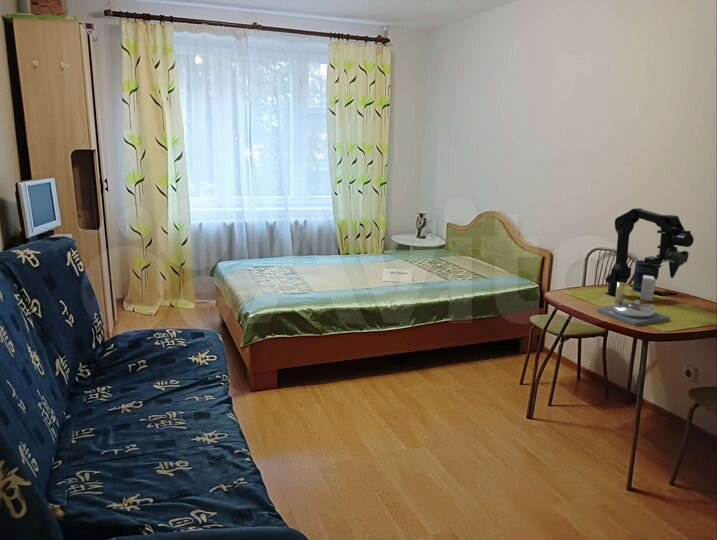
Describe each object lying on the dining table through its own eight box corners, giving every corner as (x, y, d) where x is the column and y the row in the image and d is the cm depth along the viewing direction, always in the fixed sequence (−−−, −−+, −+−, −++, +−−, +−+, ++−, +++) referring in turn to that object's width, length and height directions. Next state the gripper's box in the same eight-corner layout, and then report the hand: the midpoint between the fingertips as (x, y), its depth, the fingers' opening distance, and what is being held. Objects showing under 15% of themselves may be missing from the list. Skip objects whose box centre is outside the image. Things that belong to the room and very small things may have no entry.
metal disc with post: (604, 309, 235) (607, 282, 232) (631, 305, 240) (635, 279, 237) (634, 320, 220) (638, 291, 217) (662, 315, 226) (666, 288, 223)
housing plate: (597, 312, 236) (597, 308, 236) (631, 307, 243) (631, 303, 243) (634, 326, 218) (634, 322, 218) (669, 320, 225) (670, 316, 225)
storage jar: (658, 292, 267) (662, 263, 264) (641, 293, 265) (645, 264, 262) (643, 287, 277) (647, 259, 273) (627, 288, 275) (631, 260, 271)
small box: (640, 295, 262) (643, 275, 260) (653, 297, 260) (656, 276, 257) (639, 299, 256) (642, 278, 253) (652, 301, 253) (655, 279, 250)
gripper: (666, 247, 222) (662, 283, 224) (700, 245, 227) (696, 280, 230) (645, 244, 232) (641, 278, 235) (677, 242, 237) (674, 275, 240)
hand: (663, 278), depth 235 cm, fingers open, 9 cm apart
